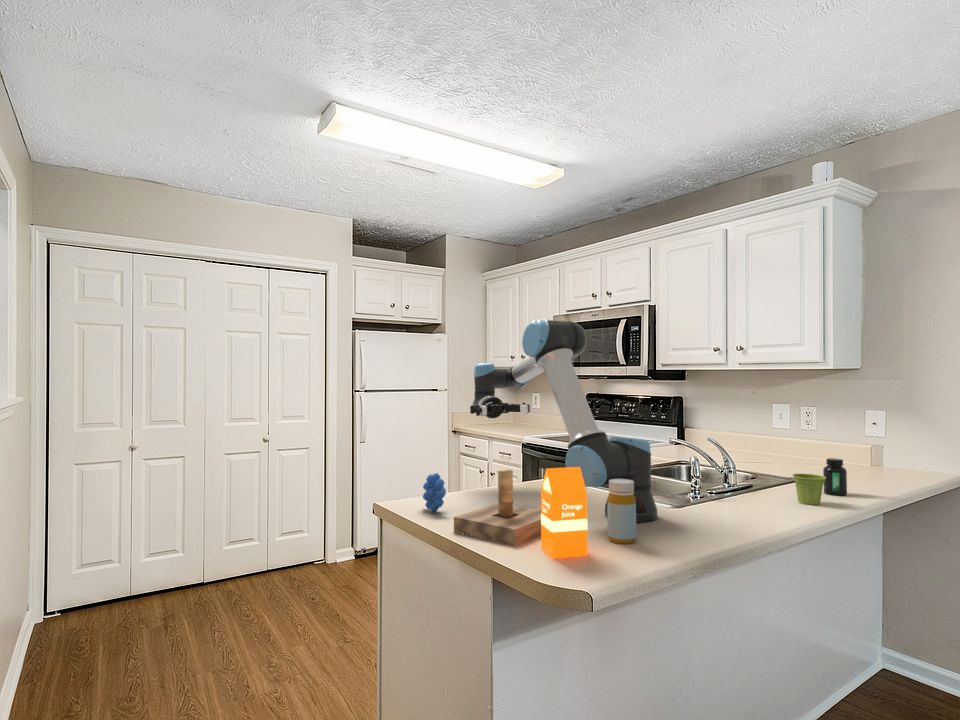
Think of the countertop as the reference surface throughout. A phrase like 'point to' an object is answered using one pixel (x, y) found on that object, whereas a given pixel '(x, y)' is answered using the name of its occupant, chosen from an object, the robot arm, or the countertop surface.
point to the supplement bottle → (835, 478)
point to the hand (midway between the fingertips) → (506, 410)
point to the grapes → (434, 492)
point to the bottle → (621, 511)
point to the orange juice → (564, 513)
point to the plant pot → (809, 488)
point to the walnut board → (500, 524)
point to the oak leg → (505, 493)
